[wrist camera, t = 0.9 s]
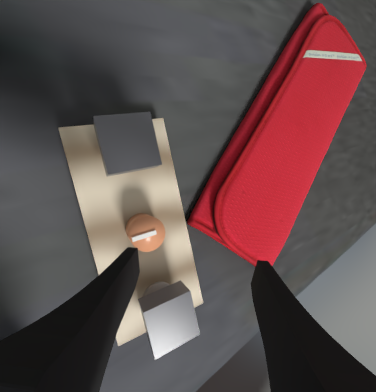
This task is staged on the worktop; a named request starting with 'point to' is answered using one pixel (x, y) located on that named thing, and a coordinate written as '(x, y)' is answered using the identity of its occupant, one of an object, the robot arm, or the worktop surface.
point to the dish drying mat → (281, 141)
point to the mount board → (126, 208)
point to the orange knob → (145, 232)
